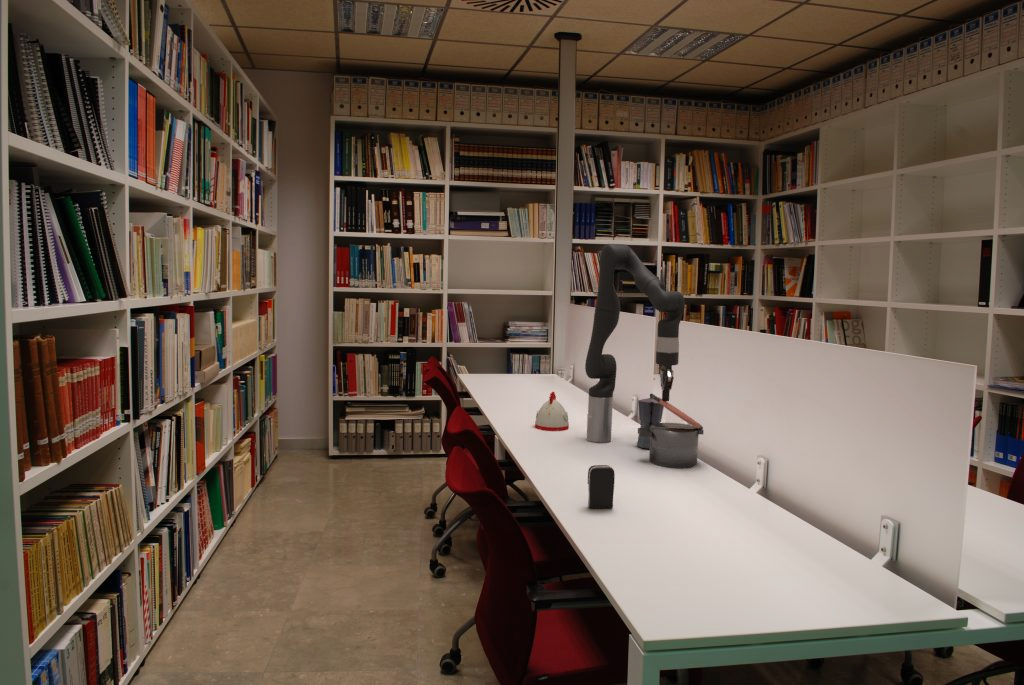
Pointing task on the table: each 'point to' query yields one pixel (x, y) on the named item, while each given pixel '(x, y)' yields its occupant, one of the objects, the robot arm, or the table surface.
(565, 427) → the kitchen timer
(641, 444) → the moka pot
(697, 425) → the lid
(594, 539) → the table surface
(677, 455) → the cooker pot
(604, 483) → the battery charger
